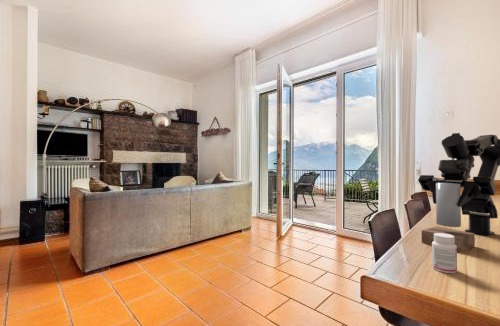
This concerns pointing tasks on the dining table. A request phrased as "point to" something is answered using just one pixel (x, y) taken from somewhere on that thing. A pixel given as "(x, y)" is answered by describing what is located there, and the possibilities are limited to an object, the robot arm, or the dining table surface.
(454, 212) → the grey cylinder
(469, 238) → the walnut box
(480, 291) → the dining table surface
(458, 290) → the dining table surface
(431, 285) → the dining table surface
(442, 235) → the pill bottle
